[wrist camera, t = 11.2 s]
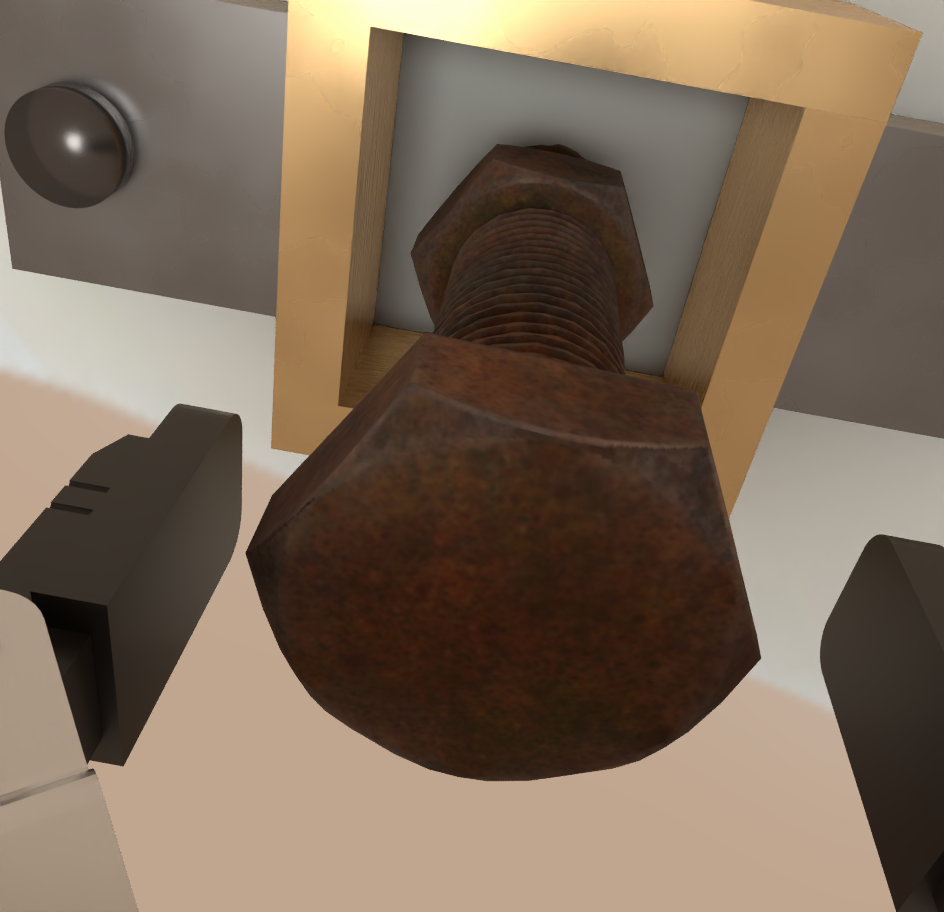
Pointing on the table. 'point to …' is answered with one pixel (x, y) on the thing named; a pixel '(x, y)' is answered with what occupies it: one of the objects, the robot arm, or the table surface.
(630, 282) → the bolt
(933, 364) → the gray knob plate
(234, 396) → the table surface
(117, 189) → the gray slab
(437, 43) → the table surface
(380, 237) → the square wooden frame
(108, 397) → the table surface
